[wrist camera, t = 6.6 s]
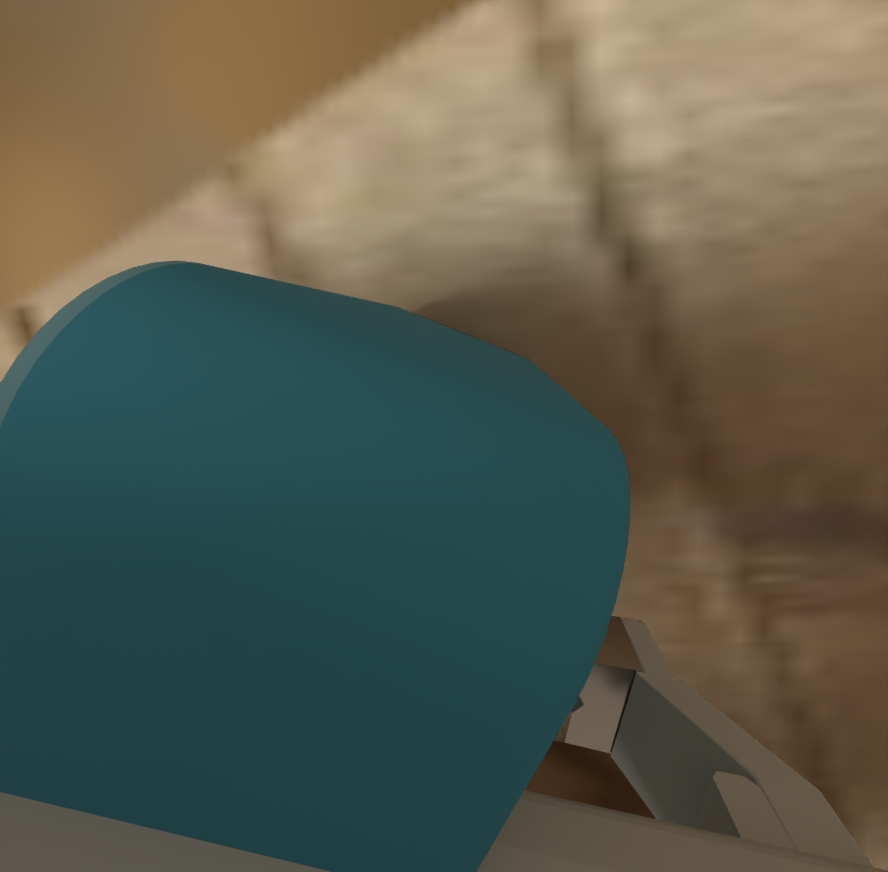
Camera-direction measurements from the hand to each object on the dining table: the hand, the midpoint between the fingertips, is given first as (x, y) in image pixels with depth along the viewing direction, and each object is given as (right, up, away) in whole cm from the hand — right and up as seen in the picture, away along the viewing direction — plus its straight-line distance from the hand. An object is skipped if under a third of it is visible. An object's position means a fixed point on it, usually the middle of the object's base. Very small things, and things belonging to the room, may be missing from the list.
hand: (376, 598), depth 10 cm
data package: (0, +1, +6) cm, 6 cm away
